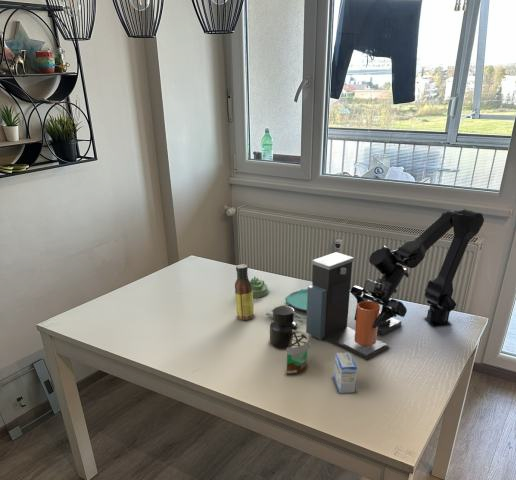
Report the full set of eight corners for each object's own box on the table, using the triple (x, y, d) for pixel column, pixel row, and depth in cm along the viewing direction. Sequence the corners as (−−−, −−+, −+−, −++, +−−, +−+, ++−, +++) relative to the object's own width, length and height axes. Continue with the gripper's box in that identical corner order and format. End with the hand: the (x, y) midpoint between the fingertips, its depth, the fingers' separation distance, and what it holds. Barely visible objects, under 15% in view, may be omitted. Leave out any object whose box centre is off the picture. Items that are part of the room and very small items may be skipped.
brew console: (377, 316, 178) (378, 307, 176) (400, 325, 171) (402, 316, 169) (358, 326, 172) (359, 317, 170) (381, 336, 165) (382, 326, 163)
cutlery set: (348, 303, 188) (348, 297, 187) (298, 330, 170) (298, 324, 168) (307, 289, 200) (308, 284, 199) (257, 313, 182) (257, 308, 180)
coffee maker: (331, 322, 175) (336, 251, 162) (388, 347, 158) (399, 271, 145) (304, 334, 167) (307, 261, 154) (361, 362, 150) (369, 284, 137)
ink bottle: (291, 334, 167) (291, 302, 161) (302, 346, 160) (303, 313, 154) (264, 339, 164) (264, 307, 158) (274, 352, 157) (274, 318, 151)
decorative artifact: (272, 292, 198) (256, 285, 205) (272, 276, 195) (255, 270, 201) (254, 299, 192) (238, 292, 199) (253, 283, 189) (237, 276, 195)
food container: (306, 379, 143) (307, 350, 138) (286, 377, 144) (286, 348, 139) (311, 358, 153) (312, 330, 148) (292, 356, 154) (292, 328, 149)
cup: (370, 334, 161) (374, 300, 154) (379, 344, 155) (383, 309, 149) (351, 336, 160) (354, 302, 153) (359, 347, 154) (362, 311, 148)
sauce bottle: (256, 314, 181) (254, 263, 171) (250, 322, 176) (248, 270, 166) (239, 312, 183) (237, 262, 173) (233, 319, 178) (231, 268, 168)
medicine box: (333, 378, 143) (335, 352, 139) (348, 377, 144) (350, 351, 139) (339, 393, 136) (341, 367, 132) (355, 392, 137) (357, 366, 132)
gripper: (355, 261, 154) (330, 303, 153) (406, 277, 142) (378, 323, 141) (369, 278, 162) (345, 318, 162) (418, 294, 150) (392, 338, 149)
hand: (364, 323), depth 153 cm, fingers closed on cup, 7 cm apart
